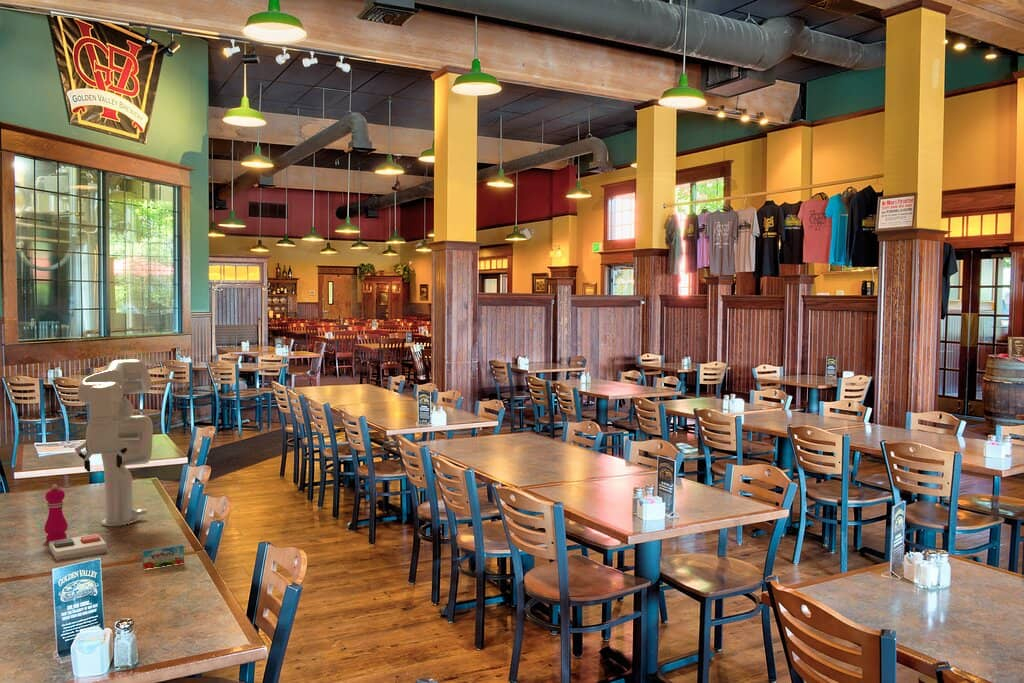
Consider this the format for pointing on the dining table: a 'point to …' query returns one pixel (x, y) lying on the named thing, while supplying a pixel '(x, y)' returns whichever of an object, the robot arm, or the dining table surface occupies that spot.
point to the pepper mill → (55, 515)
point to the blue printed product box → (163, 556)
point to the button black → (64, 543)
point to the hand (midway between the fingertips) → (103, 469)
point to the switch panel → (78, 548)
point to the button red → (90, 538)
